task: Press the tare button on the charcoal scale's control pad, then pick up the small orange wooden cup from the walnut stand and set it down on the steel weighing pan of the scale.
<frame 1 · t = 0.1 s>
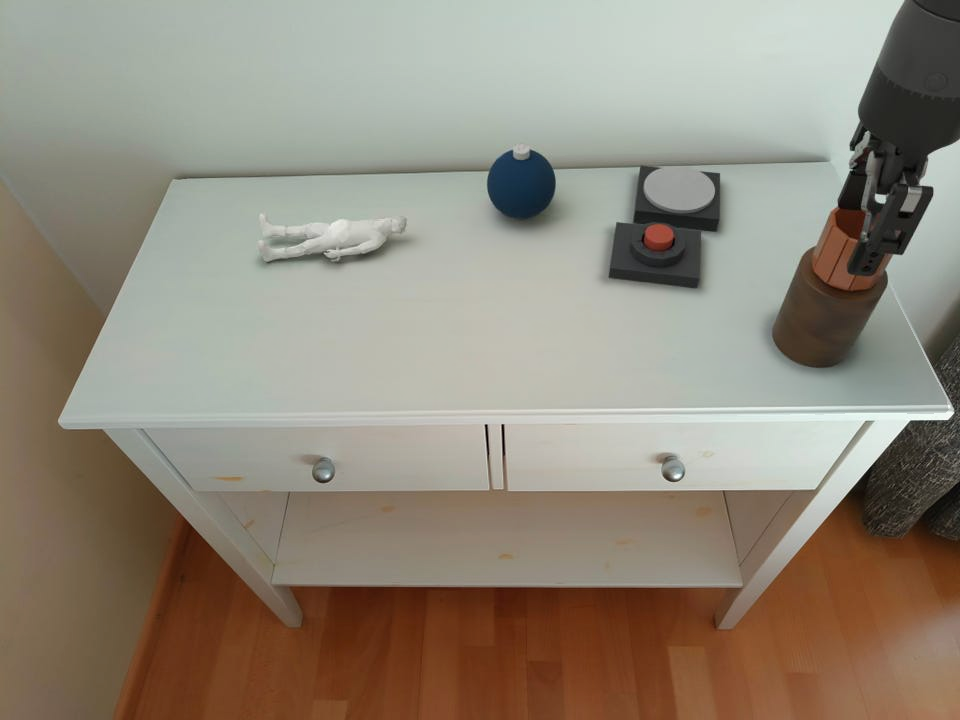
hand: (853, 238, 64), 16 cm above the table, tool pointing down, fingers open, 8 cm apart
scale: (675, 203, 93), on the table
tare button: (658, 237, 84), point 3 cm above the table, slide at 0.2 cm
orange wooden cup: (843, 270, 70), point 10 cm above the table, touching stand
christmas ornament: (521, 212, 93), on the table
figurine: (338, 246, 90), on the table
stand: (811, 338, 78), on the table
tare pad: (654, 259, 87), on the table
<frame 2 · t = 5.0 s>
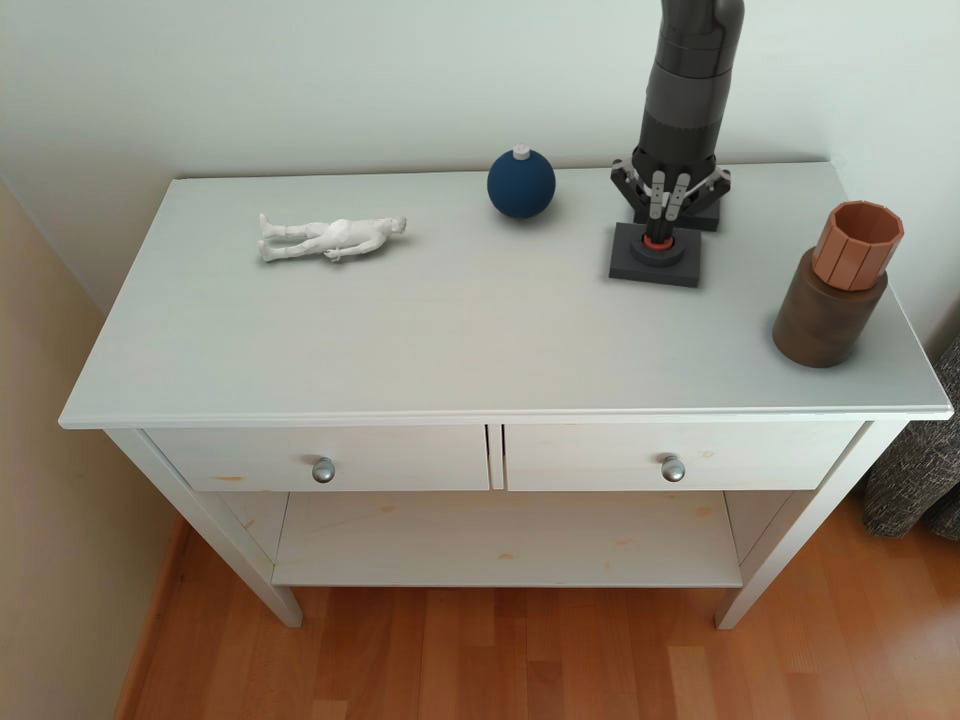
hand: (657, 238, 84), 3 cm above the table, tool pointing down, fingers closed
tare button: (657, 242, 85), point 3 cm above the table, slide at -0.6 cm, touching gripper
everything else where it was.
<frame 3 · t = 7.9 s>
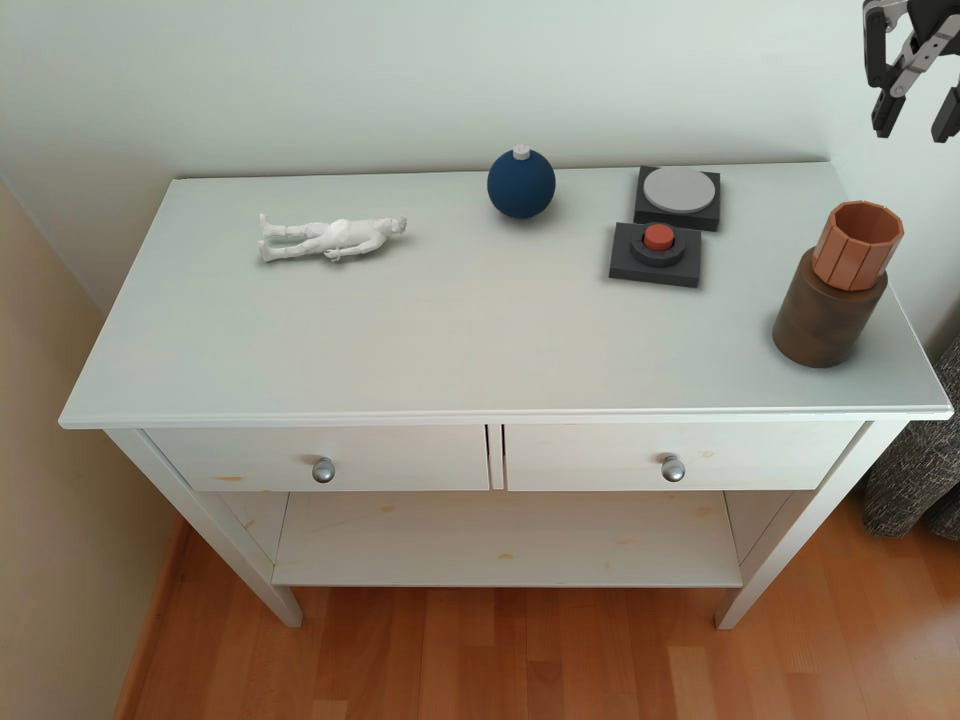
hand: (909, 133, 58), 25 cm above the table, tool pointing down, fingers open, 3 cm apart
tare button: (658, 237, 84), point 3 cm above the table, slide at 0.1 cm
everything else where it was.
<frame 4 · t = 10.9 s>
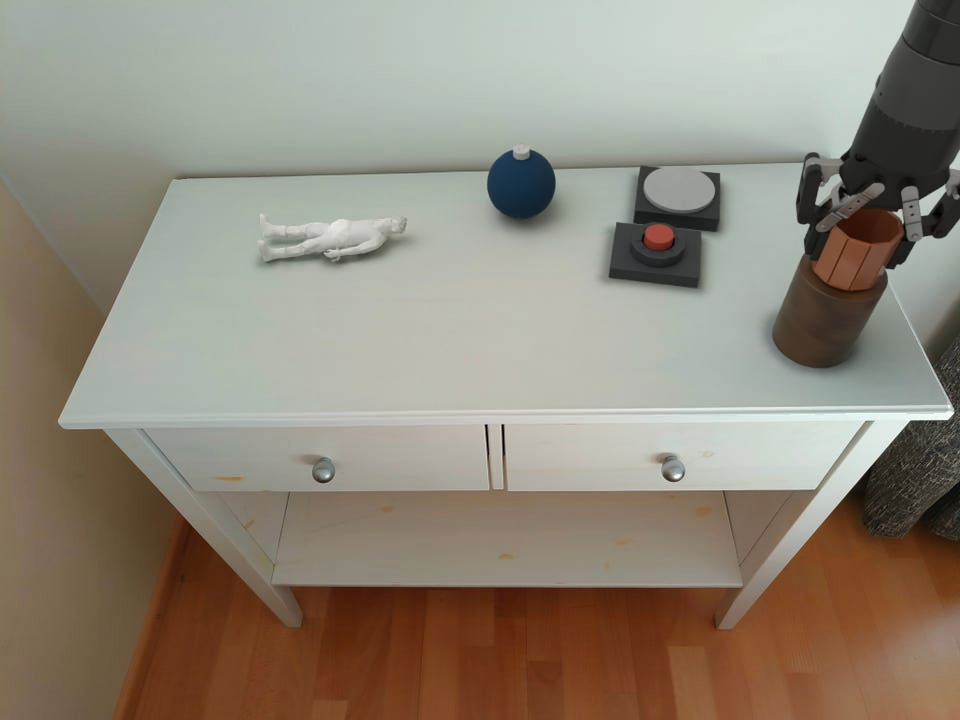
hand: (850, 258, 69), 12 cm above the table, tool pointing down, fingers closed on orange wooden cup, 6 cm apart
orange wooden cup: (843, 270, 70), point 10 cm above the table, touching gripper, stand
everything else where it was.
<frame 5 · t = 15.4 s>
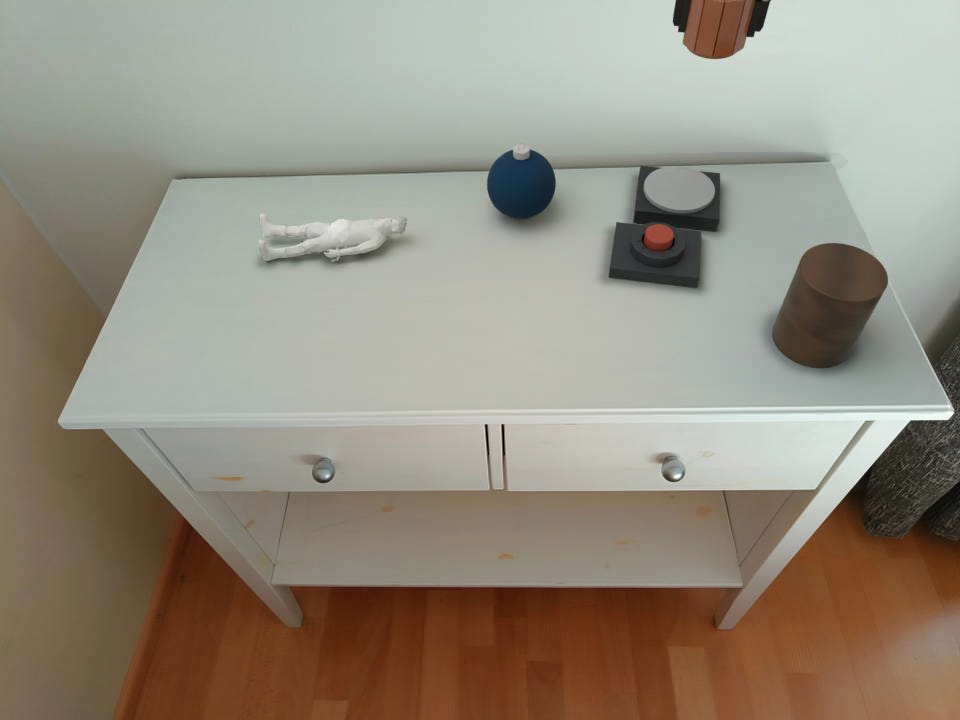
hand: (715, 30, 75), 23 cm above the table, tool pointing down, fingers closed on orange wooden cup, 6 cm apart
orange wooden cup: (712, 45, 76), point 21 cm above the table, touching gripper
everything else where it was.
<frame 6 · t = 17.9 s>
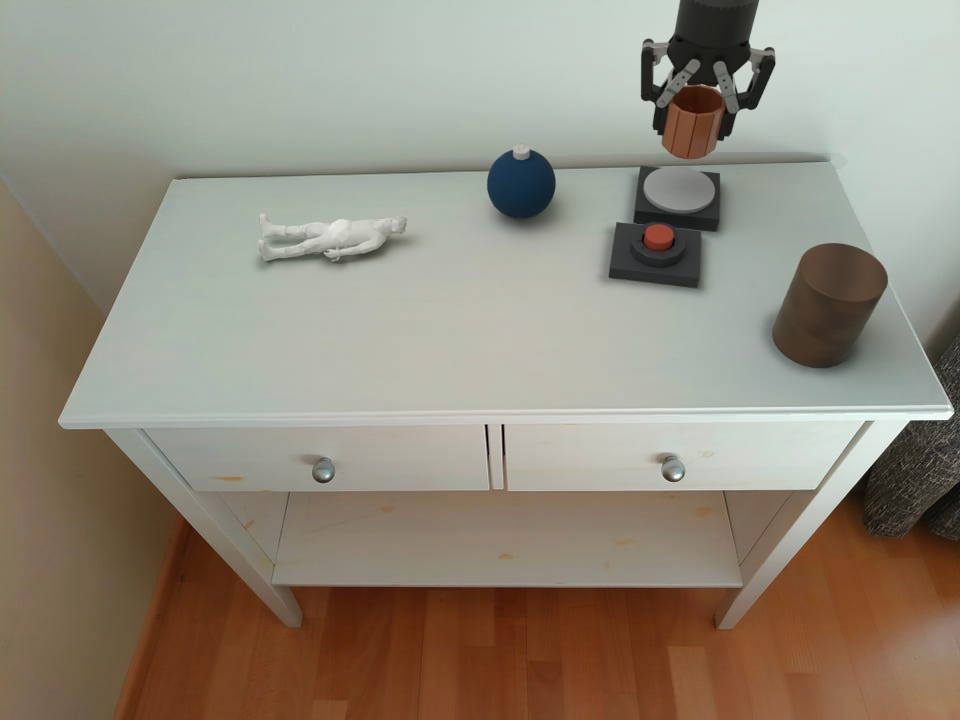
hand: (690, 133, 85), 10 cm above the table, tool pointing down, fingers closed on orange wooden cup, 6 cm apart
orange wooden cup: (687, 145, 86), point 9 cm above the table, touching gripper
everything else where it was.
when the fingers open (4 cm above the table, at t = 19.9 s): orange wooden cup stays where it is, resting on scale.
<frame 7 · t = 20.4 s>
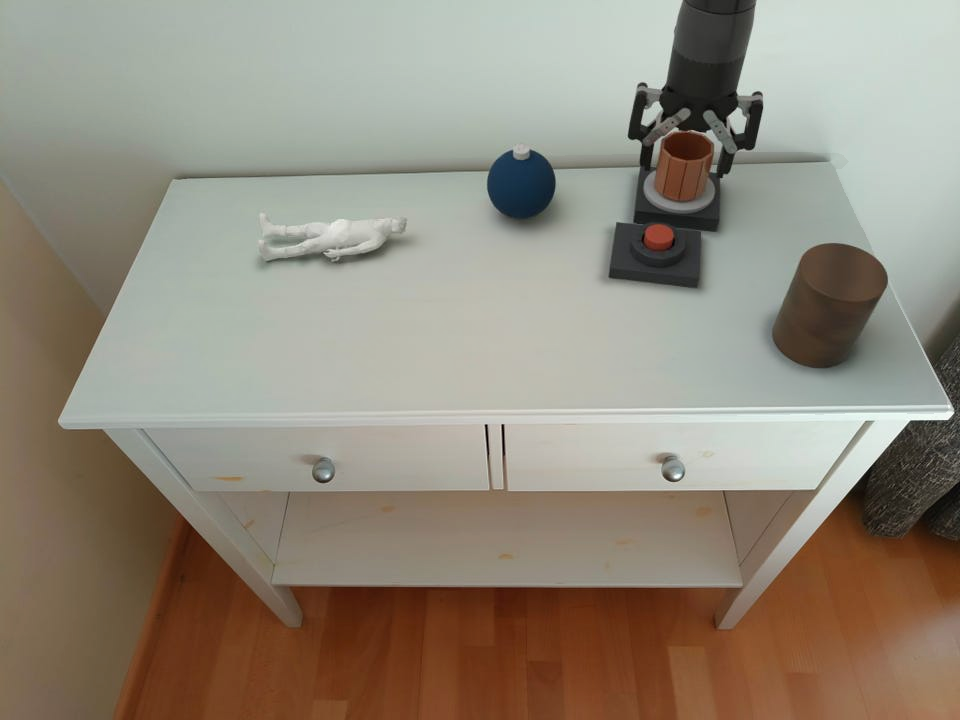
hand: (683, 170, 89), 5 cm above the table, tool pointing down, fingers open, 8 cm apart
orange wooden cup: (678, 187, 91), point 3 cm above the table, touching scale
everything else where it was.
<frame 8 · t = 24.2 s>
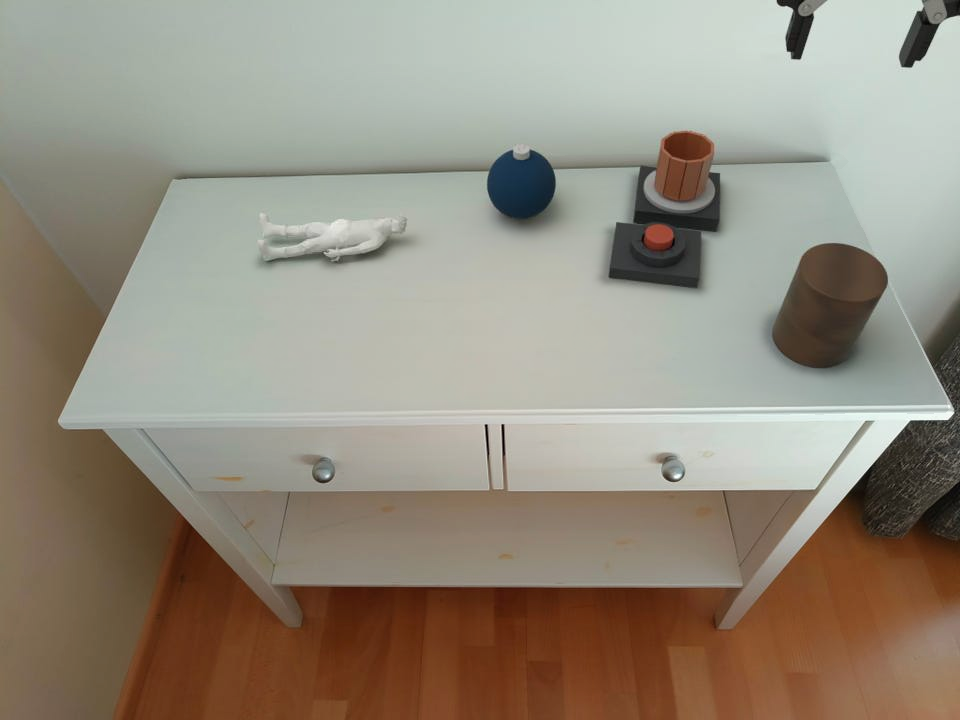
hand: (849, 58, 60), 28 cm above the table, tool pointing down, fingers open, 8 cm apart
nothing on the table moved.
at the end: tare button pushed in 0.7 cm at the most during the clip, back to where it started at the end; orange wooden cup inside the target area on the scale (0.1 cm from its centre), point 2.6 cm above the scale's base; orange wooden cup tilted 0° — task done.
